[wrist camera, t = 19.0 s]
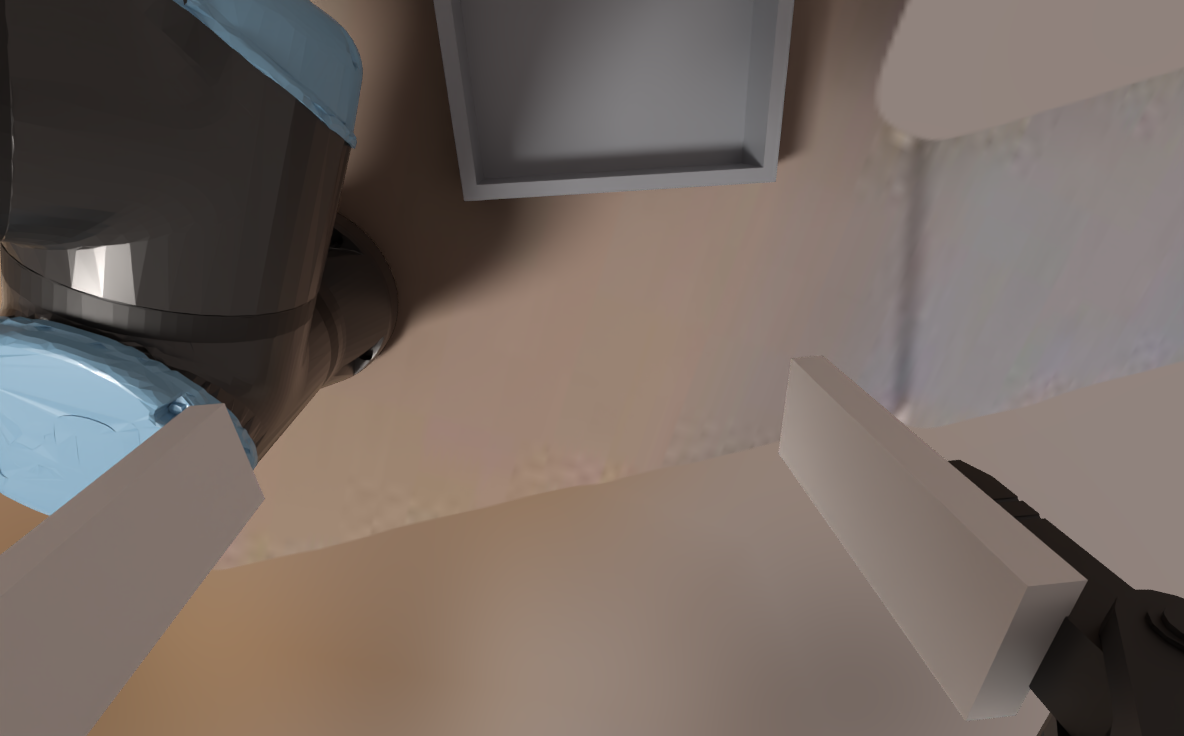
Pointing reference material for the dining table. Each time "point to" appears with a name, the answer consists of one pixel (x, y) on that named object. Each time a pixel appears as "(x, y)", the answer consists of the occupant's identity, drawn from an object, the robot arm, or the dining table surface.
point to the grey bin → (613, 93)
